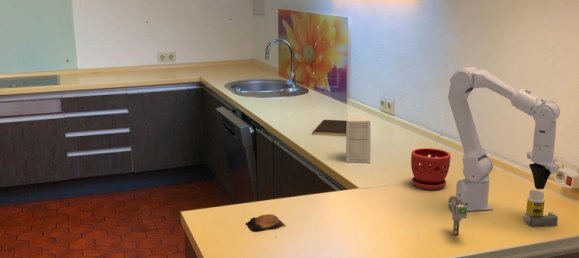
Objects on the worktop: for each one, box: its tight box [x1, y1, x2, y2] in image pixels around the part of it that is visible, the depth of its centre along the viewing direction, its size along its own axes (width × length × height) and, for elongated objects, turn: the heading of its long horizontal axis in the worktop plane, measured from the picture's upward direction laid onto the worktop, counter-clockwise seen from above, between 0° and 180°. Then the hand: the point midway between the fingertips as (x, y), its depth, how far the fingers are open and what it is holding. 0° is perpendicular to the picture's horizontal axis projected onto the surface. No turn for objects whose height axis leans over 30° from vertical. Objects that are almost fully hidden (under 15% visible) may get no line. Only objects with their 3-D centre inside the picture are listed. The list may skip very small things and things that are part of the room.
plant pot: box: [410, 147, 451, 190], centre depth 214 cm, size 13×13×12 cm
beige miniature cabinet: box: [345, 115, 372, 164], centre depth 244 cm, size 10×9×17 cm
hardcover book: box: [311, 119, 347, 137], centre depth 292 cm, size 16×23×2 cm
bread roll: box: [245, 213, 287, 233], centre depth 183 cm, size 11×8×4 cm
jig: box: [523, 211, 559, 228], centre depth 183 cm, size 9×4×2 cm, turn 96°
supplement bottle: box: [525, 189, 545, 216], centre depth 186 cm, size 5×5×8 cm
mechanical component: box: [447, 195, 468, 236], centre depth 175 cm, size 3×10×10 cm, turn 2°
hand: (539, 188), depth 183 cm, fingers closed
